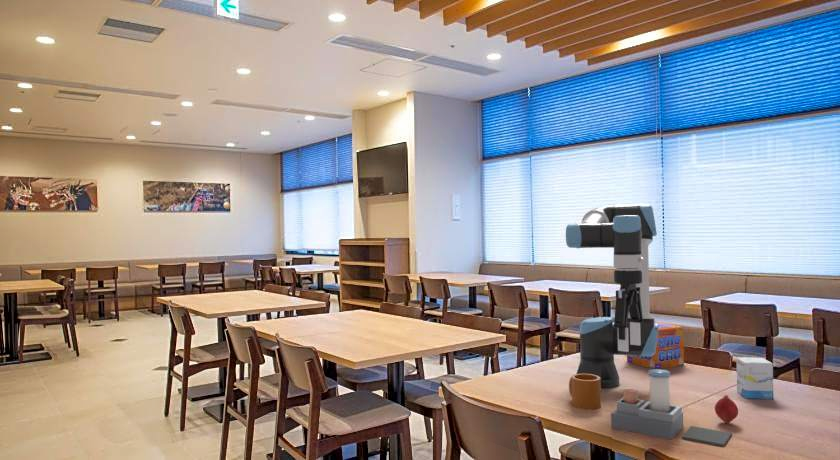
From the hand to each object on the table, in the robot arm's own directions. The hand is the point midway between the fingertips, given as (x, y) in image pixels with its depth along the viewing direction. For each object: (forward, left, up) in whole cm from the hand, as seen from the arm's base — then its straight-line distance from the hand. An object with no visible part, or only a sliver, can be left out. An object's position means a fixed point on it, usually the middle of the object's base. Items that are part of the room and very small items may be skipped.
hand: (629, 347), depth 164 cm
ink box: (+23, +51, -22) cm, 60 cm away
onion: (+21, +16, -22) cm, 35 cm away
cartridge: (+8, 0, -18) cm, 19 cm away
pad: (+19, +1, -22) cm, 29 cm away
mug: (-19, +11, -22) cm, 31 cm away
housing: (+4, 0, -22) cm, 22 cm away
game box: (-17, +80, -22) cm, 85 cm away
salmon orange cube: (0, 0, -16) cm, 16 cm away
